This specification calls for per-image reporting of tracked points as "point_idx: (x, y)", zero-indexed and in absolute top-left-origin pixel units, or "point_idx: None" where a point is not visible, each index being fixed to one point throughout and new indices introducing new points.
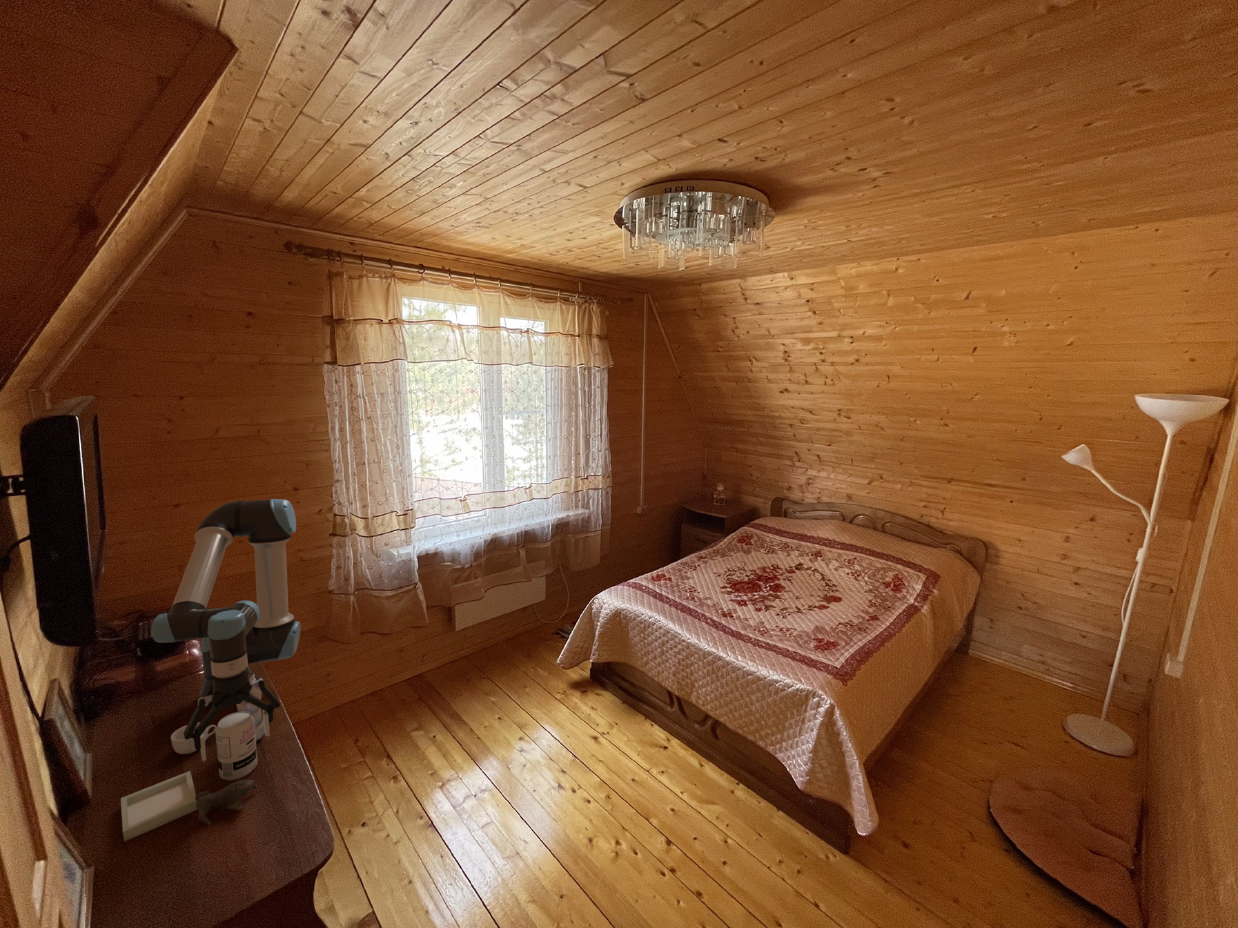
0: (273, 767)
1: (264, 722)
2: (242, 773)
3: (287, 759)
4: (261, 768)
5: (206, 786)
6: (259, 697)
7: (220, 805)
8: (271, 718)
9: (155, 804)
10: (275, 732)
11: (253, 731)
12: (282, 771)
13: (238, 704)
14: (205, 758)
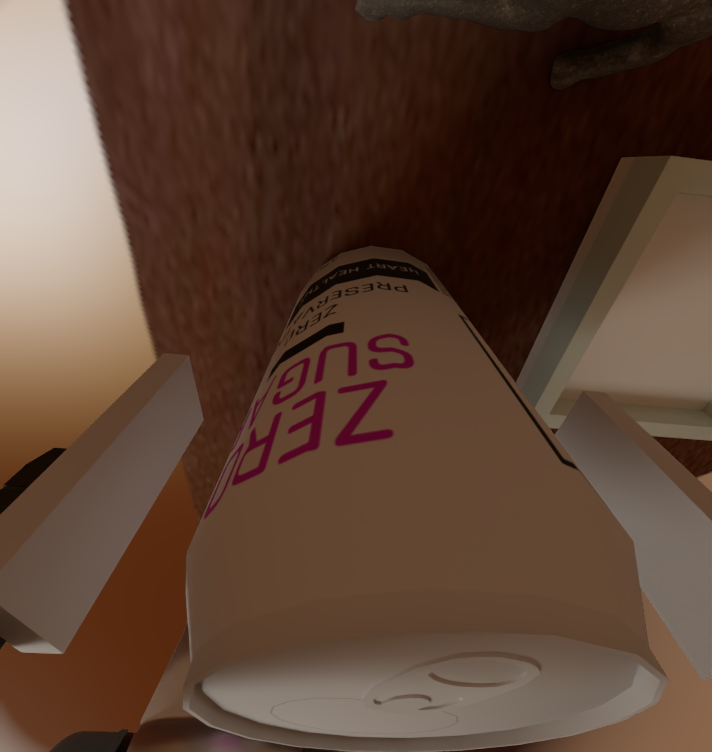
0: (237, 210)
1: (129, 478)
2: (381, 250)
3: (164, 222)
4: (290, 255)
5: (500, 317)
6: (154, 707)
7: (563, 53)
8: (20, 486)
9: (678, 340)
10: (208, 446)
11: (248, 423)
12: (193, 115)
13: None
14: (597, 400)
